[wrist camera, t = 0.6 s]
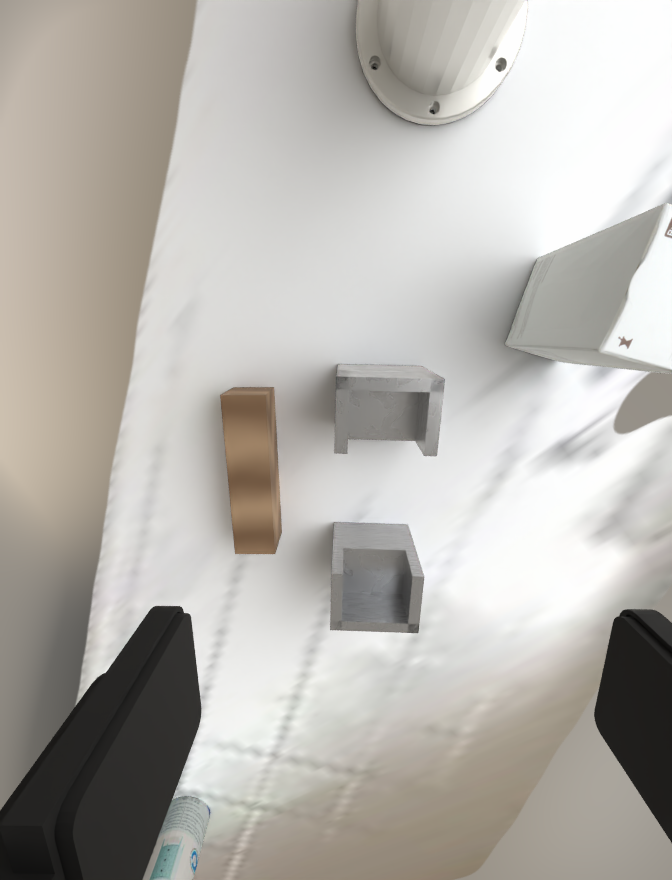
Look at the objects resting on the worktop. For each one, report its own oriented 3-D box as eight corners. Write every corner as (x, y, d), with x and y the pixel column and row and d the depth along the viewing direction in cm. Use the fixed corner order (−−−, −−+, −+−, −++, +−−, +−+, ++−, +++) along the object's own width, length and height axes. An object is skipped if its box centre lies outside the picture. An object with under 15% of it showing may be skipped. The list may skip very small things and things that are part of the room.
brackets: (338, 363, 37) (336, 376, 29) (421, 366, 37) (444, 379, 29) (333, 569, 44) (330, 629, 35) (403, 572, 44) (418, 633, 35)
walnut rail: (234, 387, 38) (220, 395, 34) (274, 386, 38) (265, 395, 34) (246, 530, 43) (235, 553, 39) (282, 530, 43) (275, 554, 39)
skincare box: (558, 361, 37) (693, 386, 23) (498, 344, 36) (597, 358, 22) (599, 269, 34) (778, 231, 20) (535, 249, 34) (672, 197, 20)
